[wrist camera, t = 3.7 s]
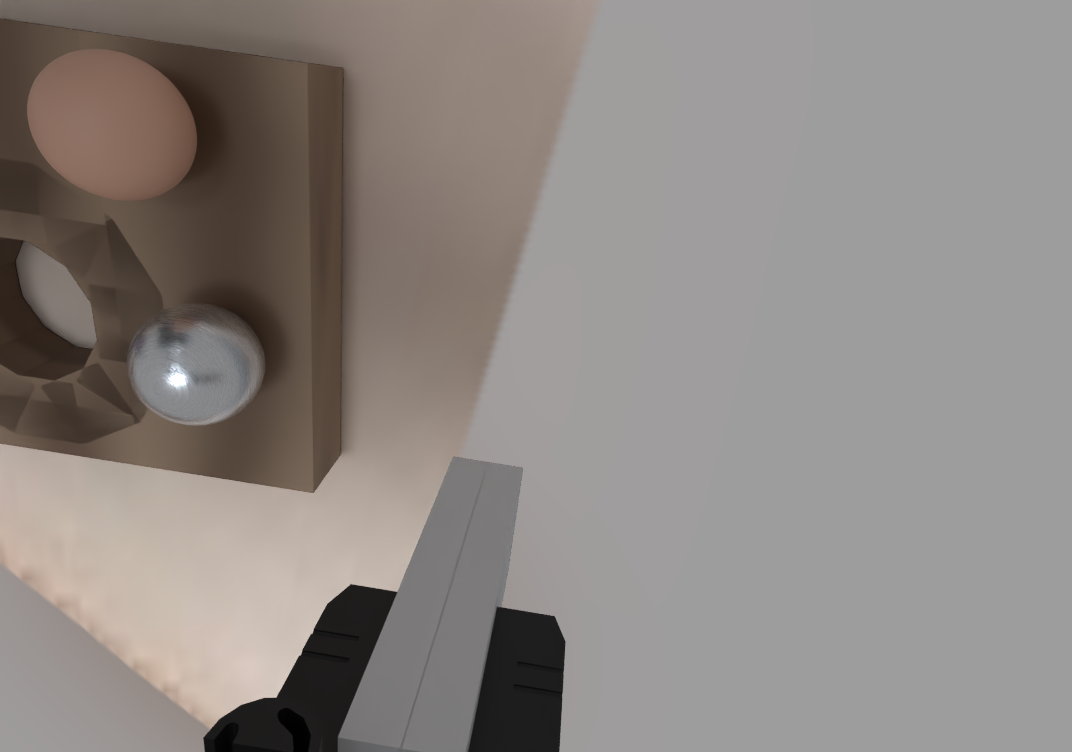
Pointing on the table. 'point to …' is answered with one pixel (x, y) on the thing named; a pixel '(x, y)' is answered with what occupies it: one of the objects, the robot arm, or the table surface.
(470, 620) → the robot arm
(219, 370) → the ball
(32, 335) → the brown flat square slab
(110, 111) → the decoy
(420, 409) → the table surface
